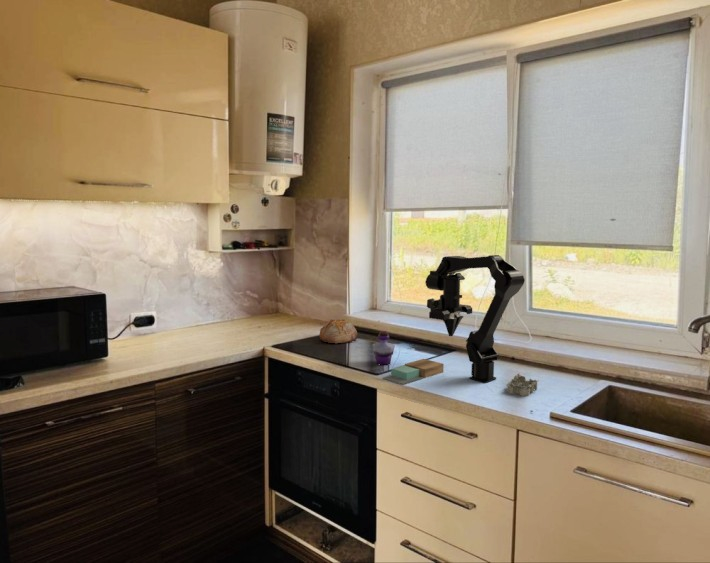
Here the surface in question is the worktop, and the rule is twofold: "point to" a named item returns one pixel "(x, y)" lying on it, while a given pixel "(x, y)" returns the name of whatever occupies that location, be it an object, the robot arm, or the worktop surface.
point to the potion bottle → (383, 349)
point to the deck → (426, 367)
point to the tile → (405, 372)
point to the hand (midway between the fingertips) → (450, 336)
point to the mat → (401, 381)
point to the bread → (338, 332)
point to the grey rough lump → (522, 385)
